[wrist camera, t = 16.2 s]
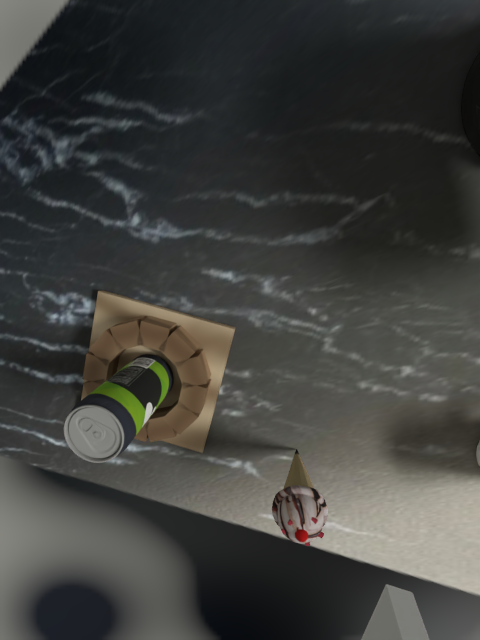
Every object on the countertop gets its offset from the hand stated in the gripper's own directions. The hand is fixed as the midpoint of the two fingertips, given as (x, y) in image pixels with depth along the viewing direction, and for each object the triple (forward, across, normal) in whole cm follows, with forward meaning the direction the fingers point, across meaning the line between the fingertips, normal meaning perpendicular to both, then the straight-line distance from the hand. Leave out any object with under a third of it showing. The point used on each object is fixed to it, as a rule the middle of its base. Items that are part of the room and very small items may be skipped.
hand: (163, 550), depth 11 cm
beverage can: (+34, -11, -11) cm, 37 cm away
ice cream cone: (+35, +10, -16) cm, 40 cm away
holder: (+35, -11, -11) cm, 38 cm away
